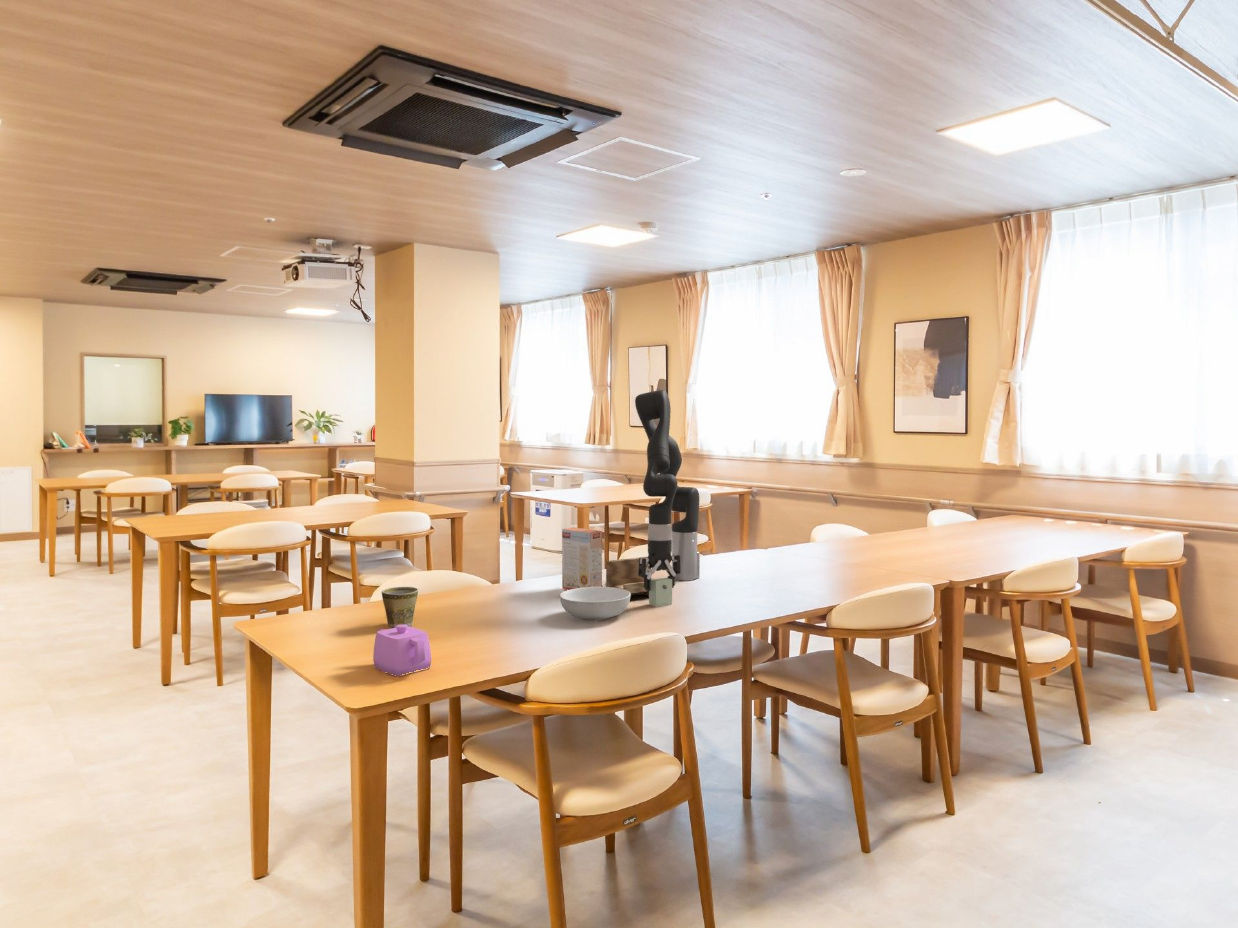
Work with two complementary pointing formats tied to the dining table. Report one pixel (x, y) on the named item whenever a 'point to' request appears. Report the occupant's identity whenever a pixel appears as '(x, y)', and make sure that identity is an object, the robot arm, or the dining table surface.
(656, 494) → the robot arm
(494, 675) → the dining table surface
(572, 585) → the cracker box
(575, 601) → the serving bowl
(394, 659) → the teapot
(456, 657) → the dining table surface
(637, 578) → the wooden stand
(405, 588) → the ceramic cup
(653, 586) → the cabinet block
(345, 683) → the dining table surface
